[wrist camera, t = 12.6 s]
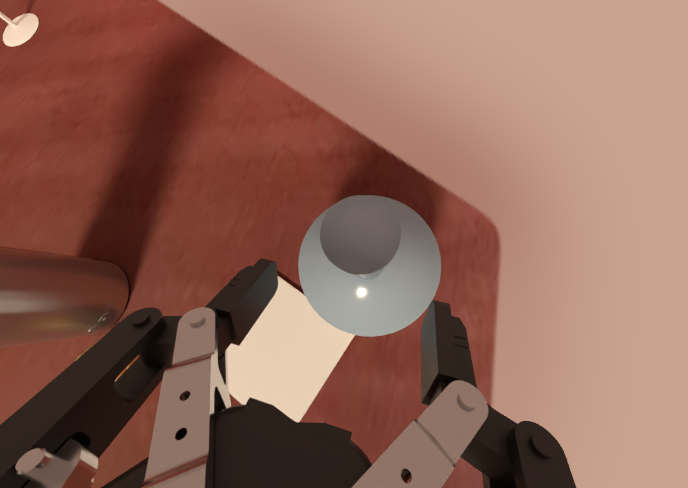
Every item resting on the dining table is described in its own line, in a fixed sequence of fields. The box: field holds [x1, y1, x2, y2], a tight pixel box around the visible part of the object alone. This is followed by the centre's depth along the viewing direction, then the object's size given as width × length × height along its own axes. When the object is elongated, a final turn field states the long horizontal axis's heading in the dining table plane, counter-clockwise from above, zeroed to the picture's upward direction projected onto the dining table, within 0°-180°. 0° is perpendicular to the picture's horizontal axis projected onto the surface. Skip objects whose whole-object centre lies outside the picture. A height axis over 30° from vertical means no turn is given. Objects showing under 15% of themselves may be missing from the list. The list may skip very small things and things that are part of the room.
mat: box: [227, 275, 355, 422], centre depth 27 cm, size 13×13×1 cm
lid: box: [298, 195, 441, 336], centre depth 17 cm, size 12×12×11 cm
